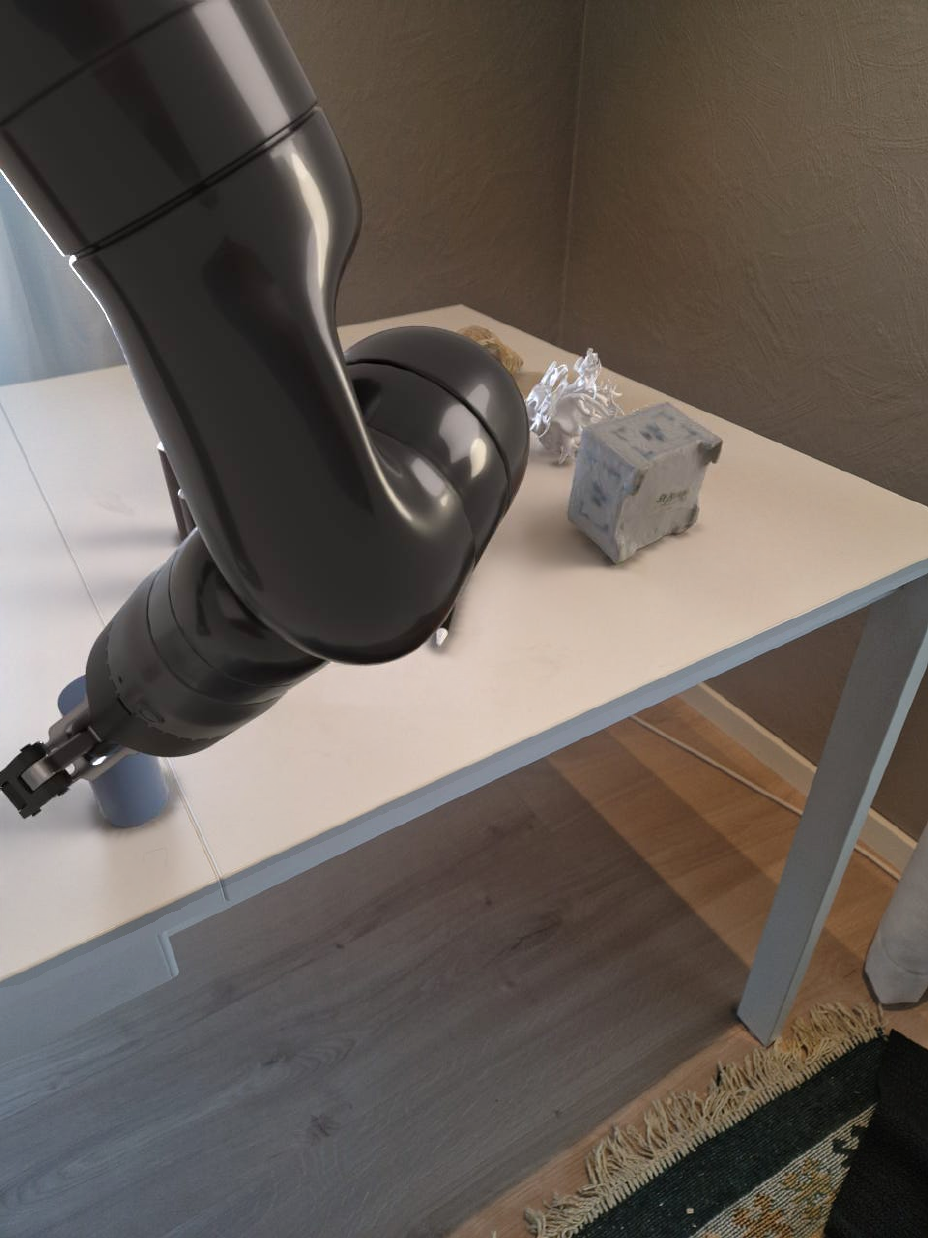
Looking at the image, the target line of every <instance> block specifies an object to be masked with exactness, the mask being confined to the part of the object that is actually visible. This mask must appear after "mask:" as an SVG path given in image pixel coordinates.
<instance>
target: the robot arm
mask: <svg viewBox="0 0 928 1238" xmlns="http://www.w3.org/2000/svg"><path fill="white" fill-rule="evenodd" d="M286 35H287V34H286V33H285V31H284V30H283V27H282V26H281V24H280V22H279V20H278V18H277V15H276V13H275V12H274V10H273V8H272V6H271V4H270V1H269V0H0V172H1V174H2V175H3V176H4V178H5V179H6V181H7V182H8V184H10V186H11V187H12V189H13V190H14V191H15V193H16V194H17V196H18V197H19V199H20V200H21V201H22V202H23V204H24V205H25V206H26V208H27V209H28V211H29V212H30V213H31V215H32V216H33V217H34V219H35V221H37V222H38V223H37V224H38V225H39V226H40V227H41V229H42V230H43V231H44V232H45V234H46V235H47V236H48V238H49V239H50V240H51V242H52V243H53V245H54V246H55V247H56V249H57V250H58V251H59V253H60V254H61V256H63V257H67V258H70V259H69V262H68V263H69V266H70V267H71V268H72V270H73V271H74V272H75V274H76V275H77V276H78V278H79V279H80V280H81V282H82V283H83V284H84V286H85V287H86V288H87V289H88V291H89V292H90V293H91V294H92V296H93V297H94V299H95V300H96V301H97V303H98V304H99V305H100V307H101V309H102V311H103V312H104V313H105V316H106V318H107V320H108V322H109V324H110V327H111V329H112V331H113V333H114V336H115V339H116V340H117V342H118V344H119V346H120V350H121V351H122V355H123V357H124V359H125V361H126V364H127V367H128V370H129V371H130V374H131V376H132V379H133V381H134V384H135V386H136V389H137V391H138V394H139V396H140V398H141V400H142V402H143V405H144V407H145V409H146V411H147V414H148V415H149V418H150V420H151V422H152V425H153V427H154V429H155V431H156V433H157V436H158V438H159V440H160V442H161V443H162V445H163V448H164V450H165V452H166V455H167V457H168V460H169V462H170V464H171V467H172V469H173V472H174V474H175V476H176V479H177V481H178V483H179V486H180V488H181V491H182V493H183V495H184V498H185V500H186V502H187V505H188V507H189V510H190V512H191V514H192V517H193V519H194V521H195V524H196V526H197V527H196V528H195V529H194V530H193V531H192V532H191V533H190V534H189V535H188V536H187V537H186V538H185V540H184V541H181V543H180V544H179V546H178V547H177V548H176V549H175V550H174V552H173V553H172V554H171V556H169V558H168V559H167V560H166V562H164V563H163V564H161V565H160V566H158V567H157V568H156V569H154V570H153V571H152V572H151V573H149V574H148V575H147V576H146V577H145V578H144V579H143V580H142V581H141V582H140V583H139V585H138V586H137V587H136V588H135V590H134V591H133V592H132V593H131V595H130V596H129V597H128V598H127V599H126V600H125V602H124V603H123V604H122V606H121V607H120V608H119V609H118V611H117V612H116V613H115V614H114V615H113V617H112V618H111V620H109V622H108V623H107V624H106V626H105V627H104V628H103V629H102V630H101V632H100V633H99V634H98V636H97V637H96V639H95V641H94V643H93V644H92V647H91V648H90V651H89V652H88V653H89V654H88V657H87V660H86V666H85V674H84V675H85V682H86V694H85V696H84V701H83V702H82V703H80V704H79V705H78V706H76V707H75V708H74V709H73V710H71V711H70V712H69V713H67V714H66V715H65V716H64V717H62V716H61V718H59V719H58V720H57V721H56V722H55V723H53V724H52V725H51V726H50V727H49V728H48V740H47V741H46V743H45V742H44V741H40V740H37V741H35V742H34V743H32V744H31V742H29V743H27V744H26V745H24V746H23V747H21V748H20V749H19V751H20V752H19V753H18V754H17V755H16V756H14V758H12V760H11V761H10V762H9V763H8V764H7V765H6V766H5V767H4V768H3V769H2V770H0V791H1V792H2V793H3V795H4V796H5V797H6V798H7V799H8V800H9V802H10V803H11V804H12V806H14V808H15V809H16V810H17V811H18V812H17V813H18V814H19V815H20V817H21V818H22V819H23V820H27V818H29V817H32V818H34V817H36V816H37V815H38V814H39V813H41V812H42V811H43V810H42V809H41V808H42V807H44V806H45V805H47V804H48V803H49V802H50V801H52V800H53V799H55V798H56V797H58V798H59V797H61V796H62V797H63V796H64V795H65V794H67V793H68V792H69V791H71V788H70V787H72V786H73V785H74V784H76V783H77V782H78V781H79V780H81V779H82V780H84V781H87V782H89V781H93V780H95V779H97V778H98V777H99V776H101V775H102V774H103V773H105V772H106V771H107V770H109V769H110V768H111V767H113V766H114V765H115V764H117V763H118V762H119V761H121V760H122V759H123V758H125V757H126V756H128V755H137V754H139V753H140V752H141V753H144V754H147V755H152V756H157V757H158V758H180V757H181V758H182V757H187V756H190V755H191V756H192V755H194V754H197V753H200V752H202V751H205V750H207V749H208V748H211V747H212V746H213V745H215V744H217V743H218V742H220V741H221V740H223V739H225V738H226V737H228V736H230V735H231V734H233V733H234V732H236V731H237V730H239V729H241V728H242V727H244V726H245V725H247V724H249V723H251V722H252V721H253V720H255V719H257V718H259V717H260V716H262V715H263V714H264V713H266V712H267V711H269V710H270V709H272V708H273V707H274V706H275V705H276V704H277V703H278V702H279V701H280V700H281V699H282V698H283V697H284V696H285V695H286V694H287V693H288V691H290V690H292V689H293V688H295V687H296V686H298V685H300V684H301V683H303V682H305V681H306V680H307V679H309V678H310V677H311V676H313V675H315V674H316V673H318V672H319V671H321V670H323V669H324V668H325V667H326V666H328V665H329V664H331V663H335V664H339V665H345V666H358V667H371V666H380V665H386V664H388V663H391V662H392V663H393V662H395V661H398V660H401V659H403V658H405V657H407V656H408V655H410V654H413V653H414V652H416V651H417V650H418V649H420V648H422V646H423V645H425V644H426V643H428V641H429V640H430V639H431V638H432V637H433V636H434V635H435V634H436V631H437V630H438V629H439V628H440V627H441V625H442V624H443V623H444V622H445V620H446V619H447V617H448V616H449V614H450V612H451V611H452V609H453V607H454V606H455V607H456V605H457V602H458V600H459V599H460V597H461V595H462V593H463V591H465V588H466V586H467V585H468V583H469V581H470V579H471V577H472V575H473V573H474V571H475V569H476V568H477V565H478V564H479V562H480V560H481V559H482V557H483V555H484V554H485V552H486V550H487V549H488V546H490V543H491V542H492V539H493V538H494V536H495V534H496V533H497V531H498V529H499V527H500V525H501V524H502V522H503V520H504V518H505V517H506V515H507V513H508V511H509V509H510V508H511V506H512V505H513V502H514V500H515V499H516V496H517V495H518V493H519V490H520V488H521V486H522V484H523V481H524V478H525V474H526V470H527V467H528V463H529V457H530V448H531V432H530V426H529V418H528V413H527V408H526V402H524V401H525V399H524V397H523V394H522V391H521V390H520V387H519V386H518V383H516V380H515V379H514V377H513V375H512V374H510V373H509V372H508V370H507V369H506V368H505V366H504V365H503V364H502V363H501V362H500V360H499V359H498V358H497V357H495V356H494V355H493V354H492V353H491V352H490V351H488V350H487V349H486V348H484V347H483V346H481V345H480V344H478V343H477V342H475V341H473V340H471V339H470V338H468V337H465V336H463V335H461V334H458V333H455V332H452V331H453V330H449V329H445V328H441V327H436V326H429V325H405V326H397V327H392V328H387V329H384V330H381V331H378V332H376V333H373V334H370V335H368V336H365V337H364V338H362V339H361V340H359V341H357V342H355V343H354V344H353V345H351V346H349V347H348V348H347V349H346V350H345V351H343V348H342V343H341V340H340V336H339V332H338V326H337V302H338V301H337V300H338V296H339V292H340V288H341V283H342V282H343V278H344V276H345V274H346V271H347V268H348V266H349V264H350V263H351V260H352V258H353V254H354V251H355V249H356V246H357V244H358V241H359V238H360V235H361V230H362V226H363V225H362V224H363V205H362V204H363V203H362V198H361V194H360V190H359V187H358V184H357V181H356V177H355V175H354V173H353V171H352V170H353V169H352V167H351V166H350V163H349V159H348V157H347V156H346V153H345V151H344V149H343V146H342V145H341V142H340V140H339V138H338V136H337V133H336V131H335V130H334V128H333V126H332V124H331V122H330V120H329V117H328V115H327V113H326V112H325V110H324V108H323V107H321V106H316V105H317V104H318V101H319V98H318V96H317V95H316V93H315V90H314V89H313V87H312V85H311V83H310V81H309V79H308V77H307V75H306V73H305V71H304V69H303V67H302V65H301V63H300V61H299V59H298V57H297V56H296V53H295V51H294V49H293V47H292V46H291V43H290V41H289V39H288V38H287V36H286ZM455 604H456V605H455ZM121 745H122V747H121V748H120V749H118V750H117V751H116V752H114V753H113V754H112V755H110V756H106V755H108V754H109V753H110V752H112V751H113V750H115V749H116V748H118V747H119V746H121ZM71 765H73V768H74V770H73V772H71V773H70V772H69V771H68V770H67V768H68V767H70V766H71Z"/></svg>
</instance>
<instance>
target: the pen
mask: <svg viewBox="0 0 928 1238" xmlns="http://www.w3.org/2000/svg"><path fill="white" fill-rule="evenodd" d="M456 605H457V603H456V604H455V606H454V607H453V609H452V611H451V612H450V614H449V616H448V617H447V619H446V620H445V622H444V623H443V624H442V625H441V627H440V628H439V629H438V630H437V631H436V632H435V634H436V646H437V648H439V647H441V645H442V644H443V642H444V641H445V639H446V638H447V637H448V635H449V630H450V627H451V623H452V619H453V616H454V612H455V609H456Z"/></svg>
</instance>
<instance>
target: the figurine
mask: <svg viewBox="0 0 928 1238" xmlns="http://www.w3.org/2000/svg"><path fill="white" fill-rule="evenodd" d="M582 360H583V356H582V355H581V356H580V357H579V358H578V359H577V360H576V362H575V363H574V365H573V367H572V371H573V372H575V373H578V374H579V376H578V377H577V379H576V380H574V381H573V382H571V383H569V382H568V380H567V378H568V377H569V374H568V373H569V367H568V365H567V364H565V363H563V364H561V365H559V366H558V367H556V366H557V364H558V361H556V360H554V361H553V362H552V363H551V365H550V366H549V368H548V369H547V371H546V373H545V374H544V375H543V378H542V380H541V381H540V383H537V384H535V385H534V386H533V387H532V389H531V391H530V393H529V395H528V396H527V397H526V398H525V399H524V402H525V405H526V408H527V413H528V418H529V426H530V433H534V434H535V435H537V437H536V440H538V441H539V443H540V444H541V445H542V446H543V447H545V449H547V450H552V451H554V452H561V453H560V456H559V460H558V465H559V466H560V465H562V464H563V462H564V461H565V460H566V458H567V457H568V458H569V459H570V461H571V462H572V463H573V464H574V465H576V459H577V458H576V457H575V452H578V450H579V446H578V445H577V444H576V443H575V437H581V432H582V430H583V429H584V428H585V427H586V426H588V425H591V424H595V423H598V422H601V421H604V420H608V419H611V418H616V417H620V416H622V415H625V413H624V411H623V410H622V409H621V408H620V407H619V406H620V403H617V404H616V403H615V402H614V398H620V397H621V396H622V392H620V391H619V393H618V392H616V389H617V385H618V384H615V385H614V388H613V387H612V382H611V380H610V379H609V378H607V381H608V384H607V383H606V384H605V385H604V381H603V380H601V384H599V385H598V386H597V384H596V380H597V378H598V376H599V375H600V374H601V373H602V366H603V365H602V363H601V359H600V358H599V357H598V352H594V349H593V348H592V347H587V351H586V355H585V357H584V360H583V361H582ZM581 361H582V363H581ZM580 363H581V364H580ZM562 367H563V368H562ZM598 367H600V368H599V369H597V368H598ZM561 368H562V369H561ZM560 369H561V370H560ZM594 372H595V373H594ZM566 373H567V374H566ZM565 374H566V375H565ZM562 376H563V379H561V381H560V382H559V384H558V386H557V387H556V388H555V389H554V390H552V388H553V386H554V385H555V384H556V383H557V382H558V381H559V380H560V378H562ZM603 385H604V386H603ZM606 393H607V394H606ZM604 394H606V395H604ZM608 402H609V404H608ZM645 406H646V407H649V405H648V404H645ZM638 410H639V409H638V408H636V409H635V411H638ZM631 412H634V410H633V409H632V410H631ZM602 414H603V415H602ZM617 414H620V416H618V415H617Z"/></svg>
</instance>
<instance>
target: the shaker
mask: <svg viewBox="0 0 928 1238" xmlns="http://www.w3.org/2000/svg"><path fill="white" fill-rule="evenodd" d="M85 694H86V682H85V674H83V675H80V676H78V677H77V678H75V679H73V680H72V681H71V682H69V683H68V684H67V685H65V687H64V688H63V689H62V690H61V691H60V693H59V695H58V697H57V703H56V705H57V709H58V711H59V714H60V716H61V718H62V717H64V716H65V715H66V714H67V713H69V712H70V711H71V710H73V709H74V708H75V707H76V706H78V705H79V704H80V703H82V702H83V701H84V696H85ZM121 747H122V745H121V746H119V747H118V748H116V749H115V750H113V751H112V752H110V753H109V754H108V755H106V756H110V755H112V754H113V753H114V752H116V751H117V750H118V749H120V748H121ZM88 783H89V786H90V788H91V791H92V793H93V796H94V799H95V801H96V803H97V807H98V808H99V810H100V812H101V816H102V817H103V819H104V820H105V821H106V822H108V824H110V825H113V826H116V827H120V828H130V827H136V826H140V825H142V824H145V823H148V822H149V821H151V820H152V819H154V818H155V817H157V816H158V815H159V814H160V813H161V812H162V811H163V810H164V809H165V807H166V805H167V804H168V801H169V798H170V790H169V786H168V784H167V781H166V778H165V775H164V772H163V769H162V766H161V763H160V760H159V757H157V756H152V755H147V754H144V753H141V752H140V753H139V754H137V755H128V756H126V757H125V758H123V759H122V760H121V761H119V762H118V763H117V764H115V765H114V766H113V767H111V768H110V769H109V770H107V771H106V772H105V773H103V774H102V775H101V776H99V777H98V778H97V779H95V780H93V781H88Z"/></svg>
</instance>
